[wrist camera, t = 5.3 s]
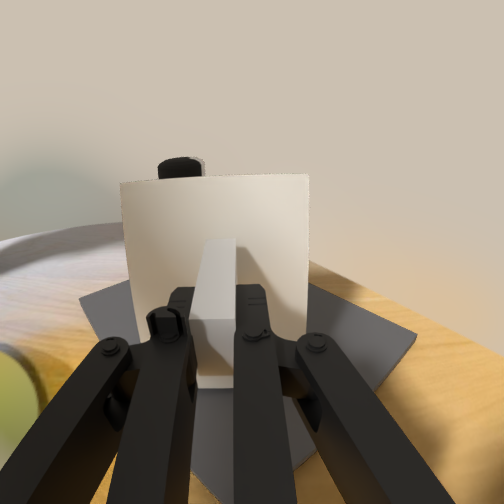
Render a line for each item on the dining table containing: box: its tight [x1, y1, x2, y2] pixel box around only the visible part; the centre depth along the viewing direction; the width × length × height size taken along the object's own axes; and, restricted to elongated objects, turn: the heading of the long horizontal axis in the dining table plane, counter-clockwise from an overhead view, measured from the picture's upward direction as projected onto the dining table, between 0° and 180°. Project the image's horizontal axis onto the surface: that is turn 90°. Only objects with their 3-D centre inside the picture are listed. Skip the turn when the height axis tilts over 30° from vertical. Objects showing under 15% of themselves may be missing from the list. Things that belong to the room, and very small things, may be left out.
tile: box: [120, 174, 309, 388], centre depth 19 cm, size 3×10×13 cm, turn 92°
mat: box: [79, 279, 418, 504], centre depth 26 cm, size 26×20×1 cm
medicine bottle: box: [158, 157, 205, 179], centre depth 40 cm, size 7×7×12 cm
